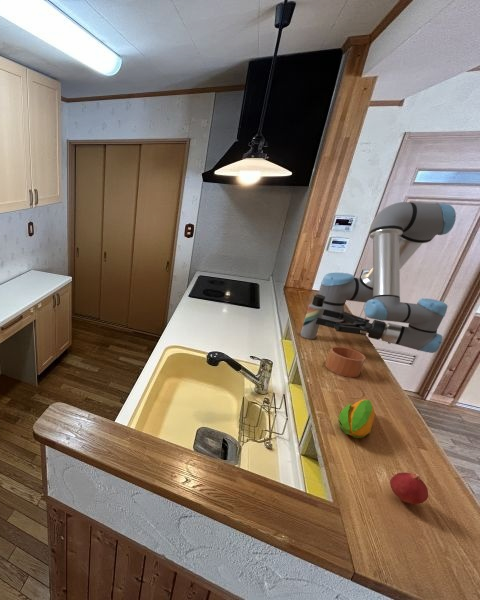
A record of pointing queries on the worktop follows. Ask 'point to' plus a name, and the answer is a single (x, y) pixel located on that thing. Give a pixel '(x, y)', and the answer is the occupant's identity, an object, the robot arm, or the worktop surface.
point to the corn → (357, 418)
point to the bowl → (345, 361)
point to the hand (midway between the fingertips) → (319, 315)
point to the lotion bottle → (313, 317)
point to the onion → (409, 488)
